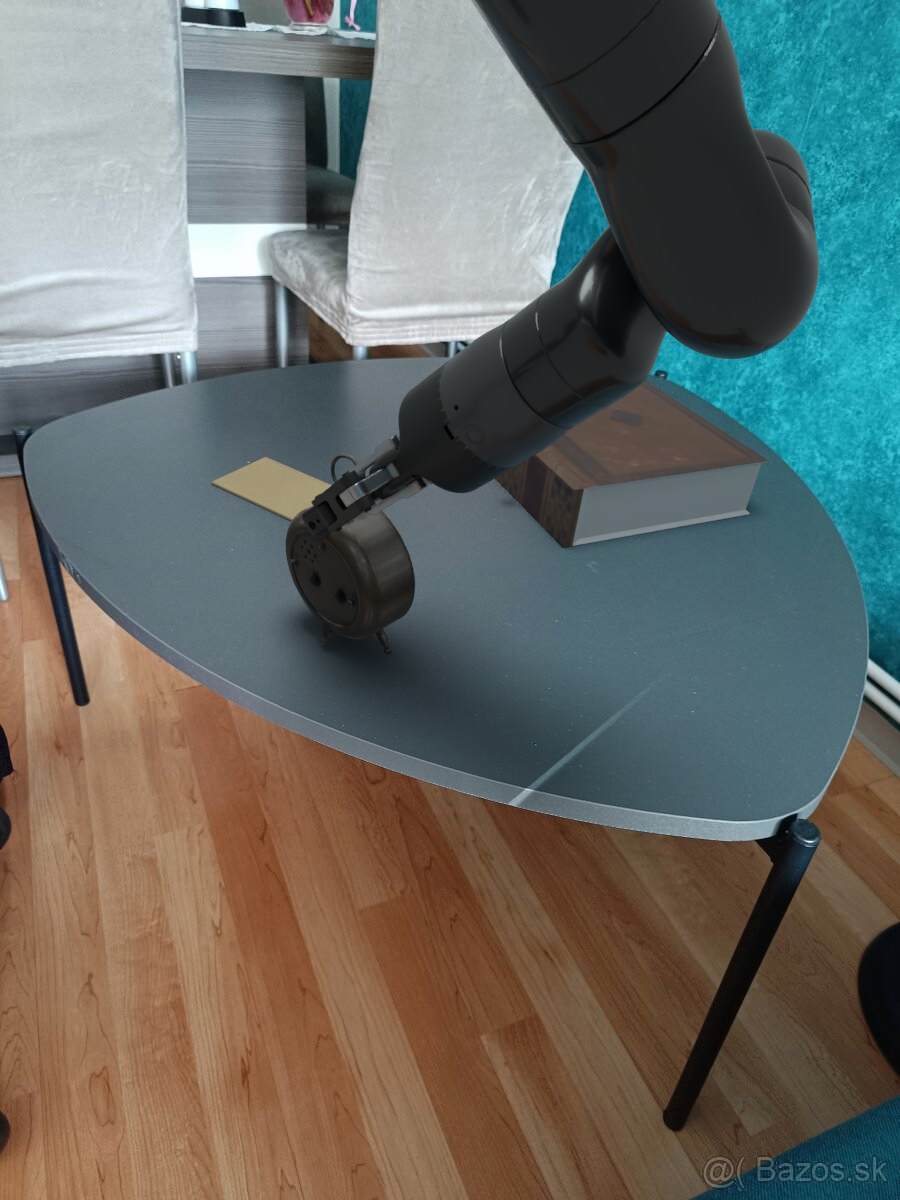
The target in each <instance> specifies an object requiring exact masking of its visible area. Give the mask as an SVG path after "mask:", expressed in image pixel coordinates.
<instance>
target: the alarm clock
mask: <svg viewBox="0 0 900 1200" xmlns="http://www.w3.org/2000/svg"><path fill="white" fill-rule="evenodd" d="M341 459H347V460H349V461H351V462H352V463H353V465H354V466H356V465H357V464H359V463H360V461H358V460H357V458H355V457H354V456H353V455H351V454H350V453H346V452H340V453H338V454H336V455H335V456H334V457H333V458H332V460H331V463H330V475H331V478H332V481H333V484H334V483H335V482H336V481H338V478H337V475H336V471H335V469H336V468H335V467H336V464H337V462H338V460H341ZM312 507H313V506H311V507H309V508H307V509H304V510H302V511H301V512H299V513H298V514H297V515H296V516H295V517H294V518H293V520H292V521H290V524H289V525H288V528H287V531H286V536H285V556H286V562H287V566H288V570H289V574H290V576H291V579H292V581H293V584H294V586H295V589H296V590H297V592H298V594H299V596H300V597H301V599H302V600H303V603H304V605H306V607H307V608H308V610H310V612H311V613H312V615H313V616H315V618H316V619H317V620H318V621H319V622H320V623H321V624H322V626H323V627H322V631H321V636H320V638H319V643H320V644H321V645H325V644H326V643H327V641H328V638H329V636H330V634H331V633H335V634H337V635H339V636H341V637H344V638H347V639H353V640H362V639H367V638H370V637H372V636H373V635H375V636H376V637H377V640H378V641H379V643H380V645H381V646H382V647H383V653H384V654H385V655H387V656H388V655H389V656H390V654H392V653H393V649H392V647H390V643H389V638H388V636H387V634H386V632H385V630H384V629H385V628H386V627H388V626H390V625H391V624H393V623H395V622H397V621H398V620H400V619H402V618H403V617H405V616H406V615H407V614H408V612H409V611H410V609H411V607H412V605H413V602H414V598H415V593H416V577H415V571H414V566H413V561H412V559H411V555H410V553H409V550H408V548H407V546H406V544H405V542H404V539H403V537H402V535H401V533H400V532H399V531H398V529H397V528H396V526H395V525H394V523H393V522H392V520H391V519H390V518H389V517H388V515H387V514H386V513H385V512H384V510H382V511H381V512H379V513H377V514H375V515H369V514H367V513H364V514H362V515H360V516H359V517H357V518H356V519H354V522H353V523H352V524H350V525H348V524H346V525H344V526H342V528H343V529H341V530H340V531H338V532H336V531H334V532H332V533H330V534H329V535H327V536H325V537H324V538H322V539H320V540H316V539H315V538H314V537H313V536H312V534H311V533H310V531H309V530H308V528H307V527H306V525H305V523H304V522H303V519H302V515H303V513H305V512H306V511H308V510H309V509H310V508H312Z"/></svg>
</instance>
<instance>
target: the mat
mask: <svg viewBox="0 0 900 1200" xmlns="http://www.w3.org/2000/svg"><path fill="white" fill-rule="evenodd" d="M211 485H213V486H214V487H217V488H219V489H221V490H224V491H226V492H227V493H230V494H232V495H234V496H236V497H238V498H241V499H243V500H245V501H247V502H249V503H251V504H254V505H255V506H258V507H260V508H262V509H264V510H266V511H269V512H271V513H272V514H275V515H277V516H279V517H282V518H284V519H286V520H287V521H289V522H292V520H293V518H294V517H295V516H296V515H297V514H298V513H299V512H301V511H302V510H304V509H307V508H309V507H311V506H313V505H312V503H311V502H312V501H313V500H314V499H315V498H314V497H316V496H317V495H319V494H322V493H323V492H324V491H325V490H327V489H328V488H329V487H330V486H332V485H333V484H330V483H327V482H325V481H323V480H320V479H318V478H315V477H313V476H311V475H309V474H306V473H304V472H303V471H299V470H297V469H294V468H292V467H291V466H288V465H285V464H283V463H281V462H278V461H276V460H274V459H272V458H269V457H268V456H264V457H262V458H260V459H258V460H256V461H254V462H251V463H249V464H247V465H244V466H243V467H240V468H238V469H237V470H234V471H232V472H230V473H227V474H225V475H223V476H221V477H219V478H216V479H215V480H212V481H211Z"/></svg>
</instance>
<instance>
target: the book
mask: <svg viewBox="0 0 900 1200" xmlns="http://www.w3.org/2000/svg"><path fill="white" fill-rule="evenodd" d="M768 462H769V460H768V459H767V458H765V457H763V456H762V455H761V454H759V453H758V452H757V451H755V450H753V449H752V448H750V447H749V446H747V445H745V444H744V443H742V442H741V441H740V440H738V439H737V438H735V437H734V436H732V435H730V434H728V432H725V431H724V430H723V429H722V428H720V427H718V426H717V425H715V424H714V423H712V422H710V421H709V420H708V419H705V418H704V417H702V416H701V415H699V414H698V413H696V412H695V411H693V410H692V409H690V408H689V407H687V406H686V405H684V404H682V403H681V402H680V401H678V400H676V399H675V398H673V397H672V396H670V395H669V394H667V393H666V392H664V391H663V390H661V389H660V388H658V387H657V386H655V385H654V384H652V383H651V382H649V381H648V380H647V379H646V380H645V381H644V382H643V383H642V384H641V385H640V386H639V387H638V388H636V389H635V390H634V391H632V392H631V393H629V394H628V395H626V396H625V397H623V398H622V399H620V400H618V401H617V402H615V403H613V404H612V405H610V406H608V407H607V408H605V409H603V410H602V411H600V412H598V413H597V414H595V415H593V416H592V417H590V418H588V419H586V420H585V421H583V422H581V423H580V424H578V425H576V426H575V427H573V428H572V429H570V430H569V431H568V432H566V433H565V434H564V435H563V436H562V437H561V438H559V439H558V440H557V441H556V442H554V443H553V444H552V445H550V446H549V447H547V448H546V449H544V450H542V451H541V452H539V453H537V454H536V455H534V456H532V457H530V458H529V459H527V460H525V461H524V462H522V463H520V464H519V465H517V466H515V467H513V468H512V469H510V470H508V471H507V472H505V473H503V474H502V475H500V476H498V477H496V478H495V480H496V481H497V482H498V483H500V485H501V486H502V487H503V488H504V489H505V490H506V491H507V492H508V493H509V494H510V495H511V496H512V497H513V498H514V499H515V500H516V501H517V502H518V503H519V504H520V505H521V506H522V507H523V509H525V510H526V511H527V513H528V514H529V515H530V516H531V517H532V518H533V519H534V520H535V521H536V522H537V523H538V524H539V525H540V527H542V528H543V529H544V530H545V531H546V532H547V533H548V534H549V535H550V536H551V537H552V538H553V539H554V540H555V541H556V543H558V545H559V546H561V548H569V547H573V546H574V547H575V546H581V545H586V544H591V543H597V542H602V541H609V540H614V539H620V538H625V537H630V536H637V535H641V534H646V533H653V532H658V531H664V530H671V529H675V528H681V527H685V526H686V527H687V526H693V525H698V524H703V523H709V522H715V521H719V520H726V519H730V518H735V517H742V516H749V515H751V513H750V512H749V511H748V510H747V508H748V505H749V502H750V498H751V496H752V493H753V490H754V488H755V487H754V486H755V484H756V481H757V478H758V475H759V473H760V471H761V467H762V465H763V464H765V463H768Z"/></svg>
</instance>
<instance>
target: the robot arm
mask: <svg viewBox="0 0 900 1200" xmlns="http://www.w3.org/2000/svg"><path fill="white" fill-rule="evenodd" d="M470 1H471V2H472V5H474V7H475V8H476V10H477V12H478V14H479V15H480V17H481V18H482V20H483V21H484V22H485V24H486V26H487V27H488V29H489V31H490V32H491V34H492V35H493V37H494V38H495V40H496V41H497V43H498V44H499V46H500V47H501V49H502V51H503V53H505V55H506V57H507V58H508V60H509V61H510V63H511V65H512V66H513V68H514V69H515V71H516V72H517V74H518V75H519V76H520V79H521V80H522V81H523V83H524V85H525V86H526V87H527V89H528V90H529V92H530V94H531V95H532V96H533V97H534V99H535V101H536V102H537V104H538V105H539V107H540V108H541V110H542V111H543V113H544V114H545V115H546V117H547V119H548V120H549V122H550V123H551V124H552V126H553V127H554V129H555V130H556V132H557V134H558V135H559V136H560V137H561V139H562V141H563V142H564V143H565V145H566V146H567V147H568V149H569V150H570V151H571V153H572V154H573V156H574V157H575V158H576V159H577V160H578V162H579V163H580V164H581V166H582V167H583V169H584V171H585V172H586V173H587V176H588V178H589V180H590V182H591V184H592V186H593V188H594V191H595V193H596V196H597V198H598V201H599V203H600V206H601V208H602V211H603V214H604V216H605V219H606V221H607V224H608V227H606V229H604V231H603V232H602V233H601V234H600V236H599V237H598V238H597V239H596V240H595V242H593V244H592V245H591V246H590V248H589V249H588V250H587V252H586V253H585V254H584V256H583V257H582V258H581V260H580V261H579V262H578V263H577V264H576V265H575V267H574V268H573V269H572V270H571V271H570V272H569V273H568V275H566V276H565V277H564V278H563V279H562V280H560V281H559V282H557V283H556V284H554V285H552V286H551V287H550V288H548V289H547V290H545V291H544V292H542V293H541V294H540V295H538V296H537V297H536V298H535V299H534V300H532V301H531V302H530V303H528V304H527V305H526V306H525V307H523V308H522V309H520V310H519V311H518V312H517V313H516V314H514V315H513V316H512V317H510V318H509V319H507V320H506V321H504V322H503V323H501V324H499V325H497V326H496V327H494V328H491V329H490V330H488V331H486V332H485V333H483V334H481V335H480V336H479V337H477V338H476V339H474V340H473V341H472V342H470V343H469V344H468V345H466V346H465V347H464V348H462V349H461V350H460V351H459V352H458V353H456V354H455V355H454V356H453V357H451V358H450V359H448V360H447V361H446V362H445V363H443V364H442V365H441V366H439V367H438V368H437V369H436V370H435V371H433V372H432V373H430V374H429V375H428V376H427V377H425V378H424V379H423V380H421V381H420V382H419V383H417V384H416V385H414V386H413V388H411V389H410V390H409V391H407V393H406V394H405V395H404V397H403V399H402V401H401V404H400V406H399V410H398V418H397V419H398V422H397V423H398V433H396V434H393V435H392V436H391V437H389V438H387V439H386V440H384V441H383V442H381V443H380V444H378V445H376V447H375V448H374V451H373V453H372V454H371V455H369V456H367V457H366V458H364V459H363V460H361V461H359V464H357V465H356V466H355V465H354V466H353V467H351V468H349V469H348V470H347V471H346V472H344V473H342V474H341V476H342V477H339V479H337V481H336V482H335V483H334V482H333V484H331V485H332V486H330V487H329V488H328V489H327V490H325V491H324V492H323V493H322V494H319V495H317V496H316V497H314V498H315V499H314V500H313V501H312V502H311V503H312V505H313V507H312V508H310V509H309V510H308V511H306V512H305V513H303V515H302V519H303V522H304V523H305V525H306V527H307V528H308V530H309V531H310V533H311V534H312V536H313V537H314V538H315V539H316V540H320V539H322V538H324V537H325V536H327V535H329V534H330V533H332V532H334V531H336V532H338V531H340V530H341V529H343V528H342V526H344V525H346V524H348V525H350V524H352V523H353V522H354V519H356V518H357V517H359V516H360V515H362V514H364V513H367V514H369V515H375V514H377V513H379V512H381V511H384V510H386V509H387V508H388V507H390V506H392V505H393V504H395V503H397V502H398V501H400V500H401V499H404V500H405V499H410V498H411V497H413V496H415V495H417V494H419V493H420V492H421V491H423V490H424V489H426V488H427V487H429V486H430V485H434V486H436V487H438V488H439V489H442V490H444V491H446V492H450V493H454V494H455V493H456V494H468V493H472V492H474V491H476V490H478V489H480V488H481V487H483V486H485V485H487V484H488V483H490V482H491V481H493V480H496V477H498V476H500V475H502V474H503V473H505V472H507V471H508V470H510V469H512V468H513V467H515V466H517V465H519V464H520V463H522V462H524V461H525V460H527V459H529V458H530V457H532V456H534V455H536V454H537V453H539V452H541V451H542V450H544V449H546V448H547V447H549V446H550V445H552V444H553V443H554V442H556V441H557V440H558V439H559V438H561V437H562V436H563V435H564V434H565V433H566V432H568V431H569V430H570V429H572V428H573V427H575V426H576V425H578V424H580V423H581V422H583V421H585V420H586V419H588V418H590V417H592V416H593V415H595V414H597V413H598V412H600V411H602V410H603V409H605V408H607V407H608V406H610V405H612V404H613V403H615V402H617V401H618V400H620V399H622V398H623V397H625V396H626V395H628V394H629V393H631V392H632V391H634V390H635V389H636V388H638V387H639V386H640V385H641V384H642V383H643V382H644V381H645V380H646V381H647V379H648V378H649V376H650V374H651V373H652V370H653V369H654V367H655V364H656V362H657V360H658V356H659V353H660V350H661V347H662V344H663V342H664V340H665V337H666V335H667V333H668V334H669V335H670V336H671V337H673V338H674V339H675V340H676V341H677V342H678V343H680V344H681V345H682V346H684V347H686V348H688V349H689V350H692V351H694V352H696V353H698V354H701V355H704V356H707V357H711V358H714V359H715V358H716V359H722V360H741V359H746V358H751V357H755V356H758V355H760V354H763V353H766V352H768V351H769V350H771V349H773V348H775V347H776V346H778V345H779V344H781V343H782V342H783V341H784V340H786V339H787V338H788V337H789V336H790V335H791V334H793V333H794V331H795V330H796V329H797V328H798V327H799V326H800V324H801V323H802V322H803V320H804V319H805V317H806V315H807V313H808V312H809V310H810V308H811V306H812V303H813V300H814V298H815V294H816V292H817V288H818V287H817V286H818V283H819V273H820V259H819V248H818V241H817V233H816V225H815V217H814V211H813V201H812V200H813V199H812V191H811V184H810V178H809V174H808V170H807V167H806V165H805V162H804V160H803V158H802V156H801V155H800V153H799V151H798V150H797V149H796V147H795V146H794V145H793V144H792V143H791V142H790V141H788V140H787V139H786V138H784V137H783V136H781V135H779V134H777V133H774V132H772V131H769V130H765V129H759V128H753V126H752V124H751V121H750V119H749V115H748V111H747V108H746V104H745V99H744V93H743V86H742V80H741V73H740V67H739V64H738V59H737V55H736V52H735V49H734V45H733V42H732V39H731V36H730V33H729V31H728V29H727V25H726V23H725V21H724V19H723V17H722V14H721V13H720V12H721V11H720V10H719V9H718V5H717V3H716V1H715V0H470ZM368 469H369V472H368V475H367V476H366V472H367V470H368Z"/></svg>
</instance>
